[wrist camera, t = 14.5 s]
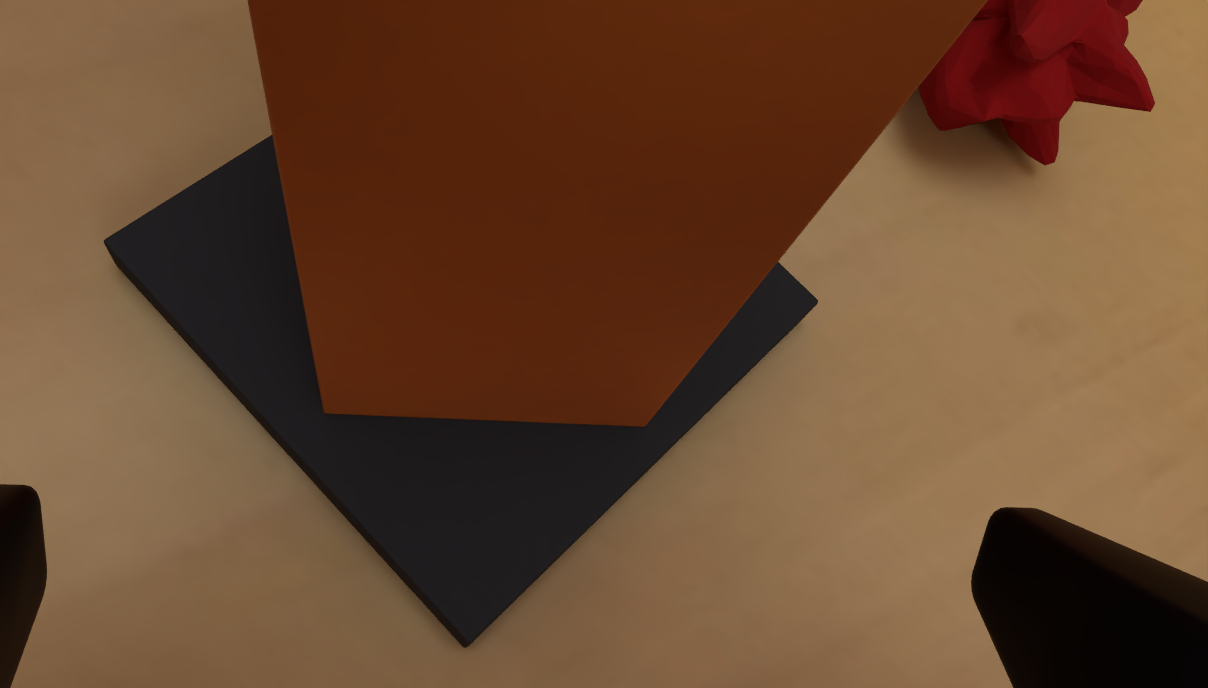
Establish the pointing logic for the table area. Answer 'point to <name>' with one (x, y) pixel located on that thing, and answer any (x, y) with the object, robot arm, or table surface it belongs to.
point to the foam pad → (409, 444)
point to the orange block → (561, 182)
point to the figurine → (1036, 69)
